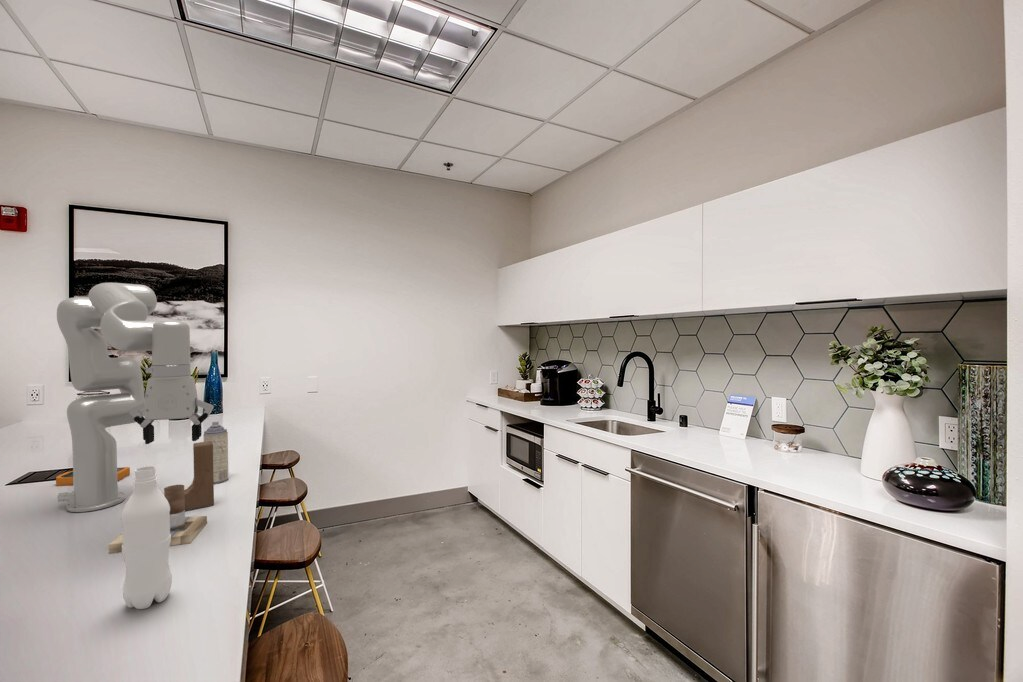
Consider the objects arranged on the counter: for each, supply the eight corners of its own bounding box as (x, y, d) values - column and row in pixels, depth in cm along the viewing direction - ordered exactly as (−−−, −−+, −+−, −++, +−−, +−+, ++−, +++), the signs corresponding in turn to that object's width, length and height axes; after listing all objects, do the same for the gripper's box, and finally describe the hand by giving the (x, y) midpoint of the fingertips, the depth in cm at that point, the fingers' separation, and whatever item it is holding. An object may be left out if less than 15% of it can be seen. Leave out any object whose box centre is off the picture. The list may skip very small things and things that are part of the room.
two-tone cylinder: (162, 540, 111) (161, 490, 111) (169, 533, 115) (168, 485, 115) (181, 537, 113) (180, 489, 112) (187, 531, 116) (186, 483, 116)
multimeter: (69, 479, 158) (69, 469, 158) (131, 475, 162) (131, 465, 162) (52, 487, 150) (51, 477, 150) (117, 483, 154) (117, 472, 154)
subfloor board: (108, 553, 105) (108, 543, 105) (133, 531, 116) (133, 522, 116) (190, 543, 110) (190, 534, 110) (207, 523, 121) (206, 514, 121)
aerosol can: (232, 477, 159) (231, 419, 158) (222, 483, 152) (221, 423, 152) (210, 478, 158) (209, 420, 157) (200, 485, 151) (199, 424, 151)
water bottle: (141, 591, 89) (138, 463, 89) (180, 589, 90) (178, 462, 89) (112, 614, 82) (109, 475, 82) (155, 612, 83) (152, 474, 82)
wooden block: (175, 513, 128) (174, 448, 127) (175, 508, 131) (173, 445, 131) (214, 505, 133) (213, 443, 133) (212, 501, 137) (211, 440, 136)
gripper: (121, 374, 107) (123, 447, 107) (207, 372, 112) (208, 442, 113) (136, 371, 114) (138, 440, 115) (216, 369, 119) (217, 435, 120)
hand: (173, 441), depth 114 cm, fingers open, 9 cm apart
